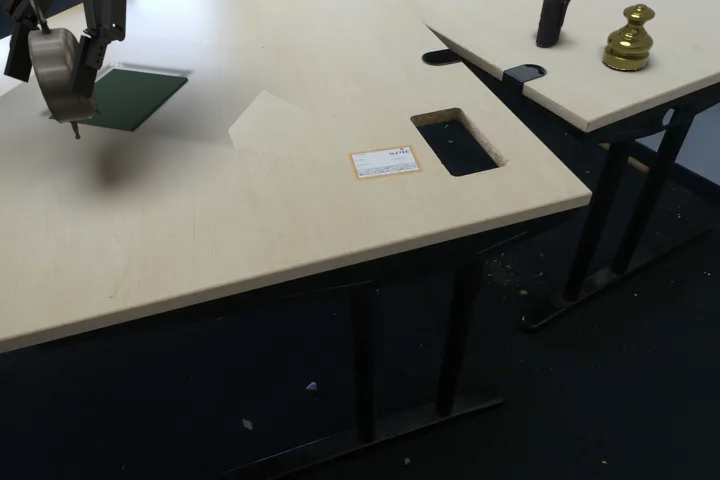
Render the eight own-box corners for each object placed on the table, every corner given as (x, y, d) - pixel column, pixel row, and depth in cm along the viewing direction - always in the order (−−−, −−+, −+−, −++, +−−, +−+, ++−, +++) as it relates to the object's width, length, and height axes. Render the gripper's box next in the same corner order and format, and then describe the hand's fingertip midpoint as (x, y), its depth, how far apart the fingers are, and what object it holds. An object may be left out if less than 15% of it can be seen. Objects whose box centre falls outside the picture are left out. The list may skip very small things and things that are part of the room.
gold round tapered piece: (629, 50, 98) (647, -6, 91) (654, 68, 93) (675, 10, 86) (593, 56, 97) (608, 0, 90) (616, 75, 92) (635, 17, 85)
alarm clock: (66, 105, 73) (7, -19, 62) (107, 97, 75) (57, -26, 63) (65, 147, 66) (-2, 16, 55) (110, 138, 67) (54, 8, 56)
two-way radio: (546, 35, 104) (564, -48, 94) (567, 42, 102) (587, -43, 91) (531, 45, 102) (547, -40, 91) (552, 52, 99) (571, -34, 89)
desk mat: (49, 121, 89) (47, 118, 89) (114, 71, 101) (113, 68, 101) (130, 133, 85) (129, 130, 85) (188, 80, 97) (187, 77, 97)
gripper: (188, -72, 63) (141, 113, 64) (51, -86, 70) (10, 80, 71) (144, -114, 56) (91, 94, 57) (-5, -126, 63) (-49, 59, 64)
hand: (46, 86), depth 64 cm, fingers closed on alarm clock, 10 cm apart
